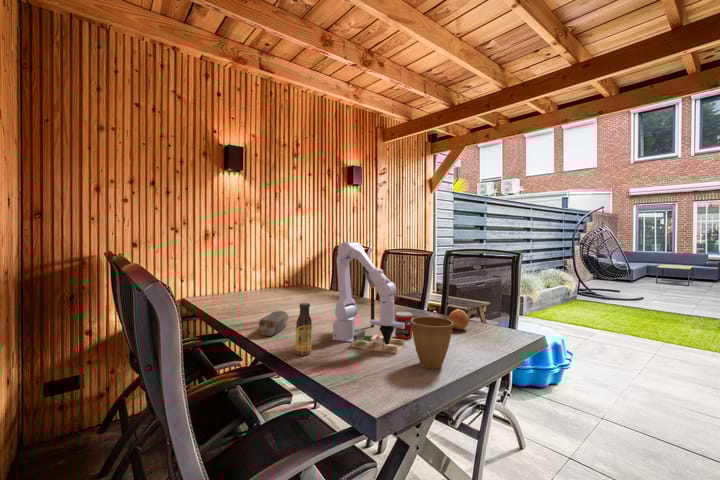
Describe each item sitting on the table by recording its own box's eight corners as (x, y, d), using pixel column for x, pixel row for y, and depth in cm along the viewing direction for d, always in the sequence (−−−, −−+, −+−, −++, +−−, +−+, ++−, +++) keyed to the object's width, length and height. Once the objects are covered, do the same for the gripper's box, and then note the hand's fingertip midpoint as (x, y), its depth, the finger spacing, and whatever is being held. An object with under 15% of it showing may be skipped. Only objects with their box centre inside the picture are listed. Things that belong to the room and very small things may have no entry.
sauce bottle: (298, 357, 130) (297, 305, 130) (293, 352, 135) (293, 303, 135) (314, 354, 133) (314, 304, 133) (308, 349, 138) (308, 301, 138)
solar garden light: (358, 329, 169) (358, 269, 168) (362, 323, 181) (362, 267, 180) (383, 330, 167) (383, 269, 166) (385, 324, 179) (385, 267, 178)
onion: (445, 327, 173) (445, 307, 173) (463, 326, 174) (463, 307, 174) (452, 332, 163) (452, 311, 163) (472, 331, 164) (472, 311, 164)
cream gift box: (370, 345, 141) (370, 336, 141) (375, 341, 146) (375, 332, 146) (381, 347, 139) (381, 338, 139) (386, 342, 144) (386, 334, 144)
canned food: (393, 338, 153) (393, 314, 153) (398, 334, 161) (398, 311, 160) (409, 340, 150) (409, 316, 150) (413, 335, 158) (413, 312, 158)
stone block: (288, 327, 176) (269, 325, 176) (289, 310, 176) (270, 309, 176) (278, 338, 156) (256, 336, 156) (279, 319, 156) (258, 317, 156)
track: (351, 346, 142) (351, 335, 142) (361, 340, 151) (361, 329, 151) (397, 353, 134) (397, 341, 134) (404, 346, 143) (404, 334, 143)
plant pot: (445, 376, 112) (445, 328, 112) (404, 367, 120) (404, 322, 120) (458, 362, 124) (458, 319, 124) (420, 355, 132) (420, 314, 132)
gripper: (367, 311, 140) (367, 344, 140) (401, 315, 134) (401, 349, 134) (373, 308, 146) (373, 339, 147) (406, 311, 140) (406, 343, 141)
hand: (387, 343), depth 141 cm, fingers closed
